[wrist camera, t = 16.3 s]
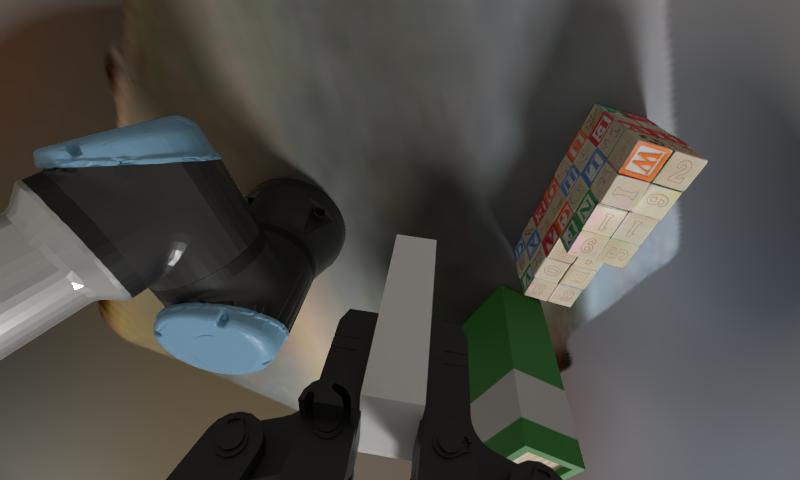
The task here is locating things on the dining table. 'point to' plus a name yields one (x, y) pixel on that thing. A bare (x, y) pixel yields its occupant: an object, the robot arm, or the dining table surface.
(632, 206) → the stack of blocks
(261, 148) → the dining table surface
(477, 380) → the hardback book
